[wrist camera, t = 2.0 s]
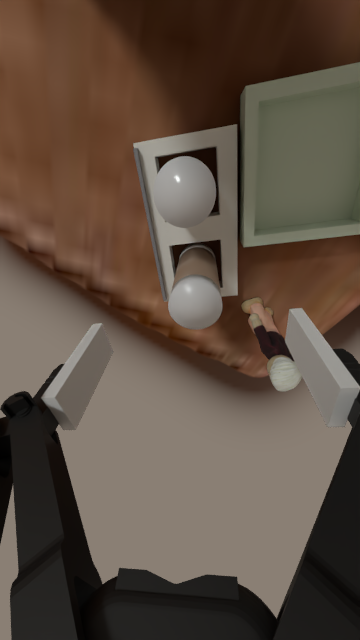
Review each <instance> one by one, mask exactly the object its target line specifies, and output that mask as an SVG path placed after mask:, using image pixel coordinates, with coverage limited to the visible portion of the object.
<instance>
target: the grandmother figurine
mask: <svg viewBox="0 0 360 640" xmlns="http://www.w3.org/2000/svg"><path fill="white" fill-rule="evenodd" d="M262 305H263V301H262V300H261V298H258V297H257V298H253V299H250V300H247V301H245V302H243V303H242V310H243V311H244V312H245V313H248V314H249V313H250V314H251V315H250V317H249V319H248V323H249V325H250V327H251V329H252V330H253V332H254V334H255V335H256V337H257V338H258V341H259V344H260V348H261V351H262V352H263V354H264V355H265V356H266V357H267V358H268V359H269V361H268V363H267V371H268V374H269V375H270V378H271V381H272V383H273V385H274V386H275V388H276V389H277V390H278V391H288V390H290V389H293V388H294V387H296V386H297V385H298V384H299V382H300V381H301V379H302V375H301V373H300V371H299V369H298V367H297V365H296V363H295V361H294V359H293V357H292V355H291V353H290V351H289V349H288V347H287V345H286V343H285V340H284V338H283V337H282V335H280V333H279V331H278V329H277V328H276V326H275V325H274V322H273V319H272V315H273V310H272V309H271V308H264V307H263V306H262Z"/></svg>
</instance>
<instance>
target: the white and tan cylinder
mask: <svg viewBox="0 0 360 640" xmlns="http://www.w3.org/2000/svg"><path fill="white" fill-rule="evenodd" d="M222 306H223V305H222V298H221V291H220V285H219V278H218V271H217V265H216V258H215V254H214V252H213V250H212V249H211V248H210V247H209V246H207V245H205V244H202V243H193V244H190V245H188V246H187V247H186V248H184V250H183V251H182V252H181V255H180V258H179V262H178V266H177V270H176V274H175V278H174V282H173V286H172V291H171V295H170V299H169V303H168V308H169V312H170V315H171V317H172V318H173V319H174V321H175V322H176V323H178V324H179V325H181V326H183V327H185V328H188V329H203V328H206V327H209V326H211V325H212V324H214V323H215V322H216V321H217V320H218V318H219V317H220V315H221V312H222Z"/></svg>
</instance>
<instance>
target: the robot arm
mask: <svg viewBox="0 0 360 640" xmlns="http://www.w3.org/2000/svg"><path fill="white" fill-rule="evenodd" d="M285 343H286V345H287V347H288V349H289V351H290V353H291V355H292V357H293V359H294V361H295V363H296V365H297V367H298V369H299V371H300V373H301V375H302V377H303V379H304V381H305V383H306V385H307V387H308V389H309V391H310V393H311V395H312V397H313V399H314V401H315V403H316V405H317V407H318V409H319V411H320V413H321V415H322V417H323V419H324V421H325V423H326V425H327V427H345V424H346V422H347V420H348V421H349V422H350V424H351V426H352V430H351V432H350V434H349V437H348V439H347V442H346V445H345V447H344V450H343V453H342V455H341V458H340V460H339V463H338V465H337V468H336V470H335V473H334V475H333V478H332V481H331V483H330V486H329V488H328V491H327V493H326V496H325V499H324V501H323V504H322V506H321V508H320V511H319V514H318V516H317V519H316V521H315V524H314V526H313V529H312V531H311V534H310V537H309V539H308V542H307V544H306V547H305V549H304V552H303V554H302V557H301V560H300V562H299V564H298V567H297V570H296V572H295V575H294V577H293V579H292V582H291V584H290V587H289V589H288V591H287V594H286V596H285V599H284V602H283V604H282V607H281V609H280V612H279V614H278V617H277V619H276V617H275V616H274V614H273V613H272V612H271V610H270V609H269V608H268V607H267V606H266V604H265V603H264V602H263V601H262V600H261V599H260V598H259V597H258V596H257V595H255V594H254V593H253V592H251V591H250V590H249V589H247V588H246V587H244V586H242V585H240V584H238V582H237V577H231V576H218V575H217V576H216V575H204V576H201V577H198V578H194V579H191V580H188V581H185V582H182V583H179V584H173V583H171V582H169V581H167V580H165V579H163V578H161V577H159V576H157V575H155V574H153V573H151V572H149V571H147V570H139V569H126V568H119V572H118V576H116V577H115V578H112V579H110V580H108V581H107V582H105V583H104V584H102V581H101V578H100V576H99V573H98V571H97V569H96V568H95V565H94V564H93V561H92V558H91V555H90V551H89V547H88V543H87V539H86V536H85V532H84V529H83V525H82V521H81V518H80V514H79V510H78V506H77V502H76V499H75V495H74V492H73V488H72V484H71V480H70V477H69V473H68V469H67V466H66V462H65V458H64V455H63V451H62V447H61V444H60V440H59V437H58V433H57V431H56V428H57V426H58V424H59V425H60V426H61V427H62V429H63V430H76V428H77V426H78V424H79V422H80V420H81V418H82V416H83V414H84V412H85V410H86V407H87V405H88V403H89V401H90V399H91V397H92V395H93V393H94V391H95V389H96V387H97V385H98V382H99V380H100V378H101V376H102V374H103V372H104V370H105V368H106V366H107V364H108V362H109V360H110V358H111V356H112V354H113V350H112V347H111V345H110V342H109V339H108V337H107V334H106V331H105V329H104V326H103V324H93V325H92V326H91V327H90V329H89V330H88V332H87V333H86V335H85V336H84V338H83V339H82V340H81V342H80V343H79V344H78V346H77V347H76V349H75V350H74V352H73V353H72V355H71V356H70V357H69V359H68V360H67V362H66V363H65V364H61V365H59V366H58V367H57V368H56V369H55V370H53V372H52V373H51V375H50V376H49V378H48V379H47V380H46V381H45V383H44V384H43V385H42V387H41V388H40V389H39V391H38V392H37V394H36V395H35V396H34V398H32V397H31V395H30V394H29V393H28V392H25V391H24V392H19V393H16V394H14V395H12V396H10V397H9V398H8V399H7V400H5V401H4V403H3V404H2V405H1V409H0V410H2V412H3V413H4V414H5V415H6V417H3V418H0V543H1V538H2V533H3V528H4V524H5V519H6V514H7V509H8V505H9V499H10V495H11V490H12V485H13V486H14V503H15V519H16V535H17V548H18V549H17V551H18V567H19V573H18V577H17V578H16V579H15V581H14V582H13V583H12V587H11V593H10V594H11V595H10V607H11V635H12V640H360V364H359V363H358V361H357V360H356V359H355V358H354V357H353V355H352V354H350V353H349V352H347V351H346V350H344V349H332V348H331V347H330V346H329V344H328V343H327V342H326V340H325V339H324V338H323V336H322V335H321V333H320V332H319V331H318V329H317V328H316V327H315V325H314V324H313V323H312V321H311V320H310V319H309V317H308V316H307V314H306V313H305V312H304V310H303V309H302V308H296V309H289V316H288V324H287V331H286V338H285Z"/></svg>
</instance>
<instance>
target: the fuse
mask: <svg viewBox="0 0 360 640" xmlns="http://www.w3.org/2000/svg"><path fill="white" fill-rule="evenodd" d="M153 196H154V202H155V205H156V208H157V210H158V212H159V213H160V215H161V216H162V217H163V219H164V220H166V221H167V222H168V223H170V224H171V225H173V226H176V227H180V228H189V227H193V226H196V225H198V224H200V223H201V222H203V221H204V220H205V219H206V218H207V217H208V215H209V214H210V212H211V211H212V209H213V206H214V203H215V199H216V185H215V180H214V178H213V175H212V173H211V171H210V170H209V169H208V167H207V166H206V165H205V164H204V163H203V162H201V161H200V160H198V159H196V158H193V157H189V156H181V157H177V158H174V159H172V160H170V161H168V162H167V163H166V164H165V165H164V166H163V167H162V168H161V169H160V171H159V172H158V174H157V176H156V179H155V183H154V188H153Z"/></svg>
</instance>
